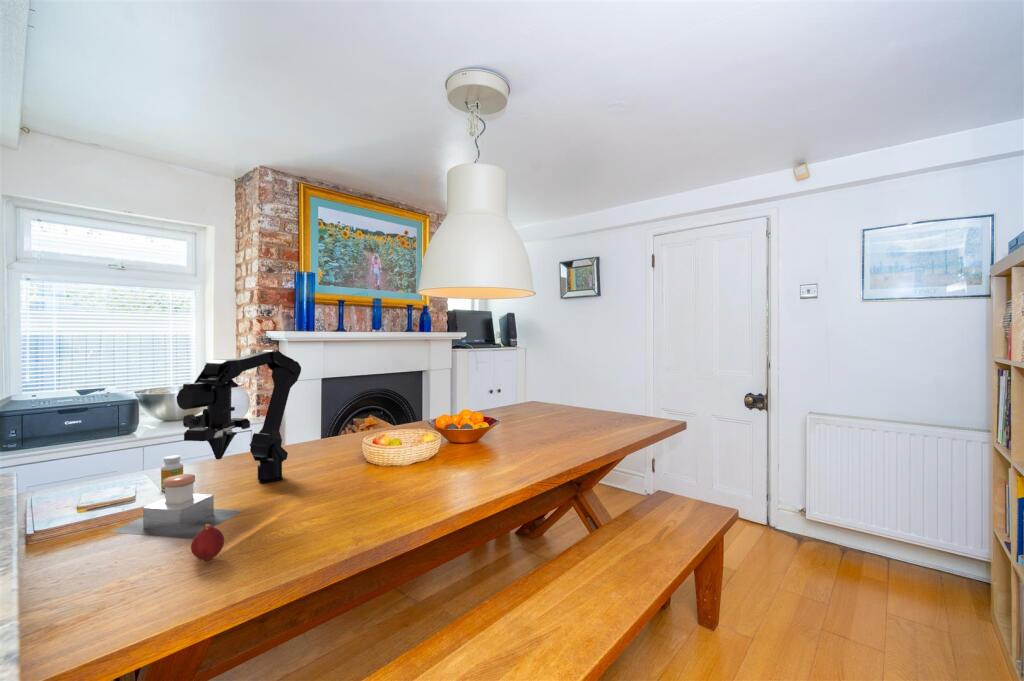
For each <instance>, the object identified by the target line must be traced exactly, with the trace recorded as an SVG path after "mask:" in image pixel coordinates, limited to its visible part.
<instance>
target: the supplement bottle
mask: <svg viewBox="0 0 1024 681" xmlns="http://www.w3.org/2000/svg"><path fill="white" fill-rule="evenodd" d="M163 463H164V464H162V465H161V466H160V467H161V468H160V480H161V482H160V485H161V486H160V487H161V488H160V490H161V491H162V490H163V492H165V487H164V486H163V480H164V479H166V478H168V477H172V476H176V475H182V474H184V464H183V462H181V455H180V454H179V455H178V454H176V455H175V454H174V455H167V456H164V457H163Z"/></svg>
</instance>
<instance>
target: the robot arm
mask: <svg viewBox="0 0 1024 681" xmlns="http://www.w3.org/2000/svg"><path fill="white" fill-rule="evenodd" d="M265 365H266V367H267V369H269V370H270V371H271V379H272V382H273V388H272V392H271V395H270V396H271V397H270V399H269V404H268V407H267V411H266V413H265V414H266V415H265V418H264V421H263V424H262V428H261V429H260V430H259V432H254V433H253V434H252V437H251V442H250V443H249V447H250V448H249V450H250V453H251V455H252V457H253V460H254V462H259V464H258V465H257V466H256V468H257V481H259V483H260V484H264V483H265V484H266V483H272V482H277V481H283V480H284V477H283V462H284V461H286V460H287V459H288V455H289V453H288V452H287V450H285V449H284V448H283V447H282V442H283V438H282V435H281V433H280V429H281V425H282V421H283V418H284V415H285V409H286V407H287V403H288V400H289V399H288V398H289V395H290V392H291V389H292V387H293V385H295V384H296V383H297V382H298V380H299V378H300V375H301V372H302V367H301V364H300V363H299V362H298V361H297V360H294V358H291V357H289V356H287V355H285V354H284V353H282V352H281V351H279V350H278V349H264V350H261V351H259V352H258V351H257V352H253V353H252V354H246V355H244V356H240V357H236V358H227V359H225V358H224V359H211V360H209V361H206V362H205V365H204V367H203V369H202V370H201V372H200V373H199V375H198V376H197V378H196V380H194V382H193V383H189V382H188V383H187V382H186V383H183V384H182V388H181V389H180V390H179V391H178V393H177V395H176V403H177V404H176V405H178V406H177V407H179V408H180V409H181V410H183V411H184V410H186V411H187V410H192V409H193V410H194V409H197V408H198V409H199V408H203V409H202V413H201V414H199V415H196V416H195V414H193V413H191V414H187V415H184V416H183V419H182V426H183V427H184V428H188V429H186V430H185V432H183V441H186V442H187V441H188V442H207V443H208V444H209V445H210V446H209V447H211V448H210V449H211V450H212V452H213V455H214V458H215V460H222V459H223V456H224V455H225V453H226V451H227V449H228V447H229V445H230V443H231V442H232V440H233V439H234V438H235V436H236V435H237V434H238V433H237V431H236V432H235V431H233V429H235V428H241V429H242V430H246V429H250V428H251V421H250V420H249V419H248V418H243V417H242V418H240V417H233V418H232V412H233V411H235V410H236V407H235V406H232V388H238V387H239V384H238V383H236V382H235V381H234V379H235V378H237V377H239V376H240V375H241V374H242V373H244V372H245V371H246V372H247V371H248V370H252V369H255V368H258V367H262V366H265ZM205 407H207V408H205Z"/></svg>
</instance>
